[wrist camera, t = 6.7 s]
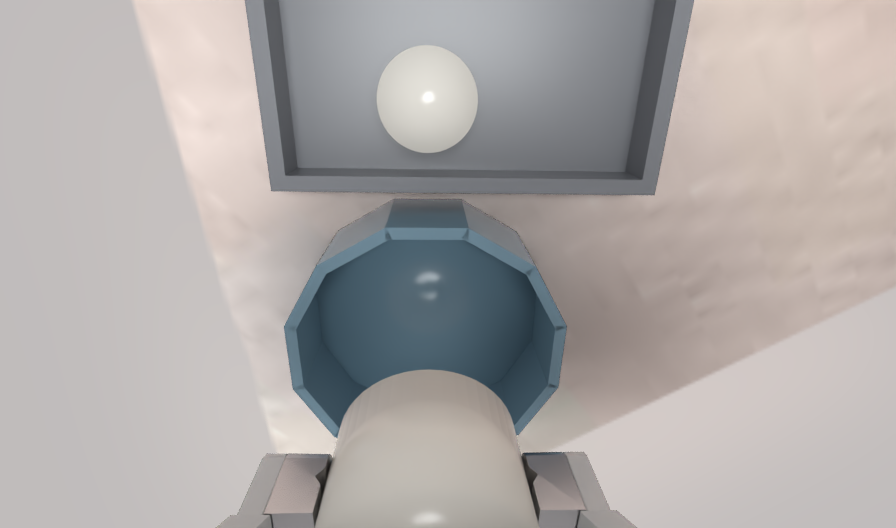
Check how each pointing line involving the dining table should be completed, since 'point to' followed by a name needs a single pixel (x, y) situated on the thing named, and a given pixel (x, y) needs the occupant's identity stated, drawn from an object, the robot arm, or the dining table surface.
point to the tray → (498, 86)
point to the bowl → (425, 310)
